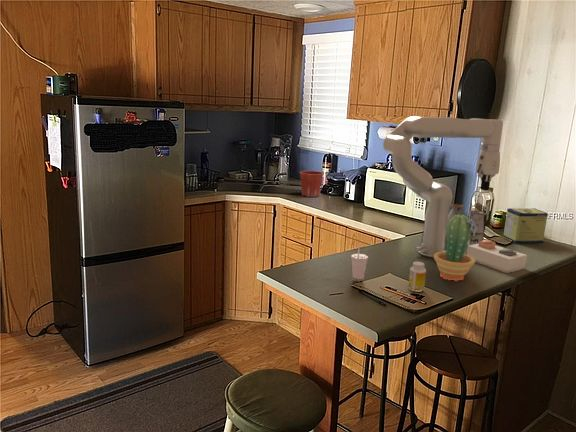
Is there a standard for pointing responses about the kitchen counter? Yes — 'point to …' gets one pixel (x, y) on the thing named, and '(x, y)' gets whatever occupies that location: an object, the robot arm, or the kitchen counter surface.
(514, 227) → the protein box
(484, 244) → the terracotta button
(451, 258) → the potted cactus
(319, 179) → the flower pot
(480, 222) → the coffee box
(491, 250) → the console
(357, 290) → the kitchen counter surface
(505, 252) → the charcoal button
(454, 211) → the coffee pot
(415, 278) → the supplement bottle
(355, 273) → the smoothie
